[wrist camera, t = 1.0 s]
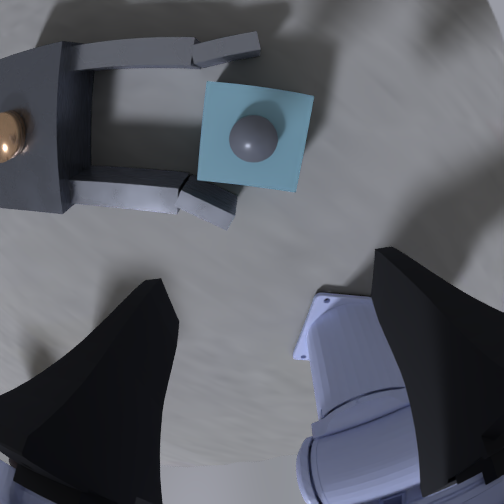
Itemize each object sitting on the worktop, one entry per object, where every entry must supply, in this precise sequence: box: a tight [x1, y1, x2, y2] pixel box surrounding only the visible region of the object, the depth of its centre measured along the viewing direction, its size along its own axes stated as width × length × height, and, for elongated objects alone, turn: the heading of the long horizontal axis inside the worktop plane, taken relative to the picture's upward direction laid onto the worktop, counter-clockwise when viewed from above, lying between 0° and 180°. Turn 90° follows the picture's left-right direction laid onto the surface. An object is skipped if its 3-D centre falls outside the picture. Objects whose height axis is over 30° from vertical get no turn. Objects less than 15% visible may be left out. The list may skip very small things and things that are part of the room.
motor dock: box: [0, 31, 261, 230], centre depth 13 cm, size 16×11×5 cm, turn 81°
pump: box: [197, 81, 314, 192], centre depth 14 cm, size 5×5×4 cm
